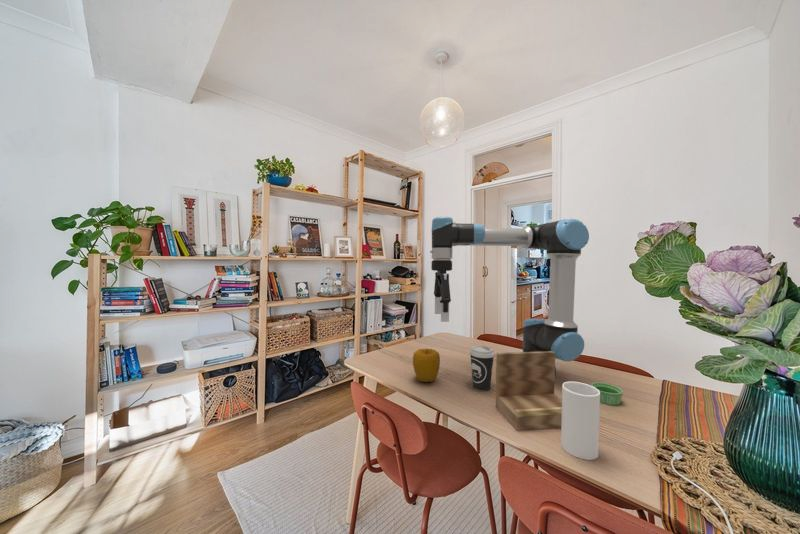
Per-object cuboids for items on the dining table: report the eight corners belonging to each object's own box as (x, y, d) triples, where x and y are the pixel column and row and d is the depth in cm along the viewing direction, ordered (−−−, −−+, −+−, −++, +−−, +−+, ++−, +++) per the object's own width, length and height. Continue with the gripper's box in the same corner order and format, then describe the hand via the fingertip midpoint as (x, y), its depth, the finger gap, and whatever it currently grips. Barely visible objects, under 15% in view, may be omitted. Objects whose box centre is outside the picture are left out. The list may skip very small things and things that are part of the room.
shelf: (551, 403, 97) (552, 351, 97) (580, 426, 84) (582, 365, 83) (495, 406, 95) (496, 352, 94) (516, 430, 82) (518, 368, 81)
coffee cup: (496, 394, 104) (496, 353, 103) (469, 391, 105) (469, 351, 105) (492, 382, 113) (493, 345, 113) (468, 380, 115) (468, 343, 114)
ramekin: (615, 409, 94) (615, 396, 94) (585, 397, 101) (586, 385, 101) (626, 402, 99) (627, 389, 98) (597, 391, 106) (598, 380, 106)
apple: (420, 388, 108) (420, 354, 107) (408, 377, 118) (408, 346, 117) (445, 383, 112) (445, 351, 112) (431, 373, 122) (431, 343, 122)
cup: (564, 455, 71) (565, 392, 71) (558, 436, 79) (559, 379, 79) (602, 463, 68) (604, 398, 68) (593, 443, 76) (594, 384, 76)
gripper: (427, 259, 116) (426, 311, 117) (437, 259, 91) (436, 325, 92) (445, 259, 116) (444, 311, 117) (460, 259, 91) (459, 325, 92)
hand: (441, 317), depth 104 cm, fingers open, 13 cm apart
